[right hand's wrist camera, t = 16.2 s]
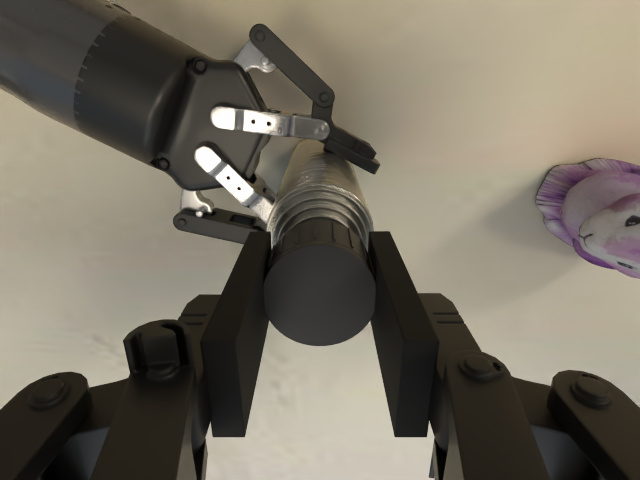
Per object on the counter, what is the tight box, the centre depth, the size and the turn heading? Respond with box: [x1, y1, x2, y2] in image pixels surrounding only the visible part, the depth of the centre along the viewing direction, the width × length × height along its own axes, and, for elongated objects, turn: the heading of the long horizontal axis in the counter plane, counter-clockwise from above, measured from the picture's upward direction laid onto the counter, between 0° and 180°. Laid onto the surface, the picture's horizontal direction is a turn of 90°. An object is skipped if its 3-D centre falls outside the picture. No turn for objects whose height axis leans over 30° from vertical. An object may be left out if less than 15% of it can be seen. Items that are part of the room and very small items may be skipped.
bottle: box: [266, 138, 374, 252], centre depth 23 cm, size 5×5×21 cm
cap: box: [263, 220, 376, 346], centre depth 14 cm, size 4×4×2 cm
